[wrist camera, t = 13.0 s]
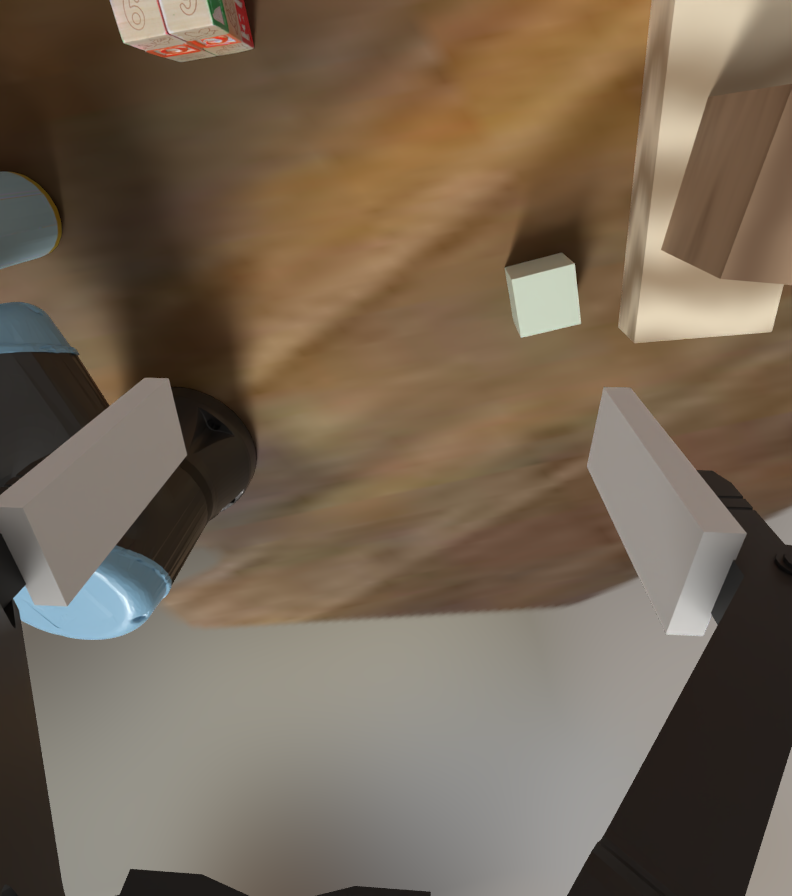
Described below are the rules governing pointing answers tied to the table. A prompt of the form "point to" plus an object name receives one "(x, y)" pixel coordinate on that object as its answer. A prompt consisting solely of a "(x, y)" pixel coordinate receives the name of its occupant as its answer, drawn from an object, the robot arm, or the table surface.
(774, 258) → the walnut block
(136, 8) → the stack of blocks
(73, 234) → the table surface
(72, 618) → the robot arm
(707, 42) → the plinth
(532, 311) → the sage cube
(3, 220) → the bottle
